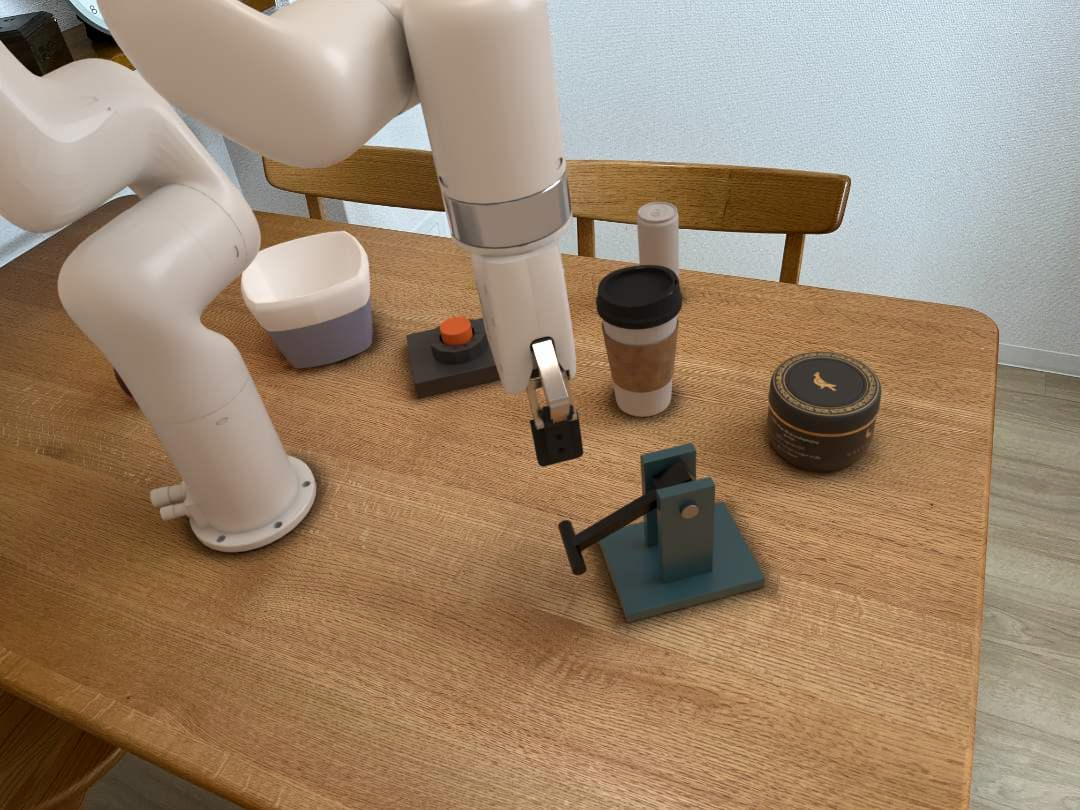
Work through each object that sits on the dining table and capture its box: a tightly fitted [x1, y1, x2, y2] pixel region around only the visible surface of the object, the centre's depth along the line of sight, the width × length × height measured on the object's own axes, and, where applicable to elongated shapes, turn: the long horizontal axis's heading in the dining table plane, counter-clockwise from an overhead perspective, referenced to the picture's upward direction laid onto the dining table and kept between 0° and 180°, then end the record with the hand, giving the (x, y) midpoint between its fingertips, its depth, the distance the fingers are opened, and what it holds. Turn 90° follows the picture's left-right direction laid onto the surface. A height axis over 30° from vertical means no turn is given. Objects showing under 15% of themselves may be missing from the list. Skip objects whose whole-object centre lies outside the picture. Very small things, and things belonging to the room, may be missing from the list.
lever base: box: [598, 442, 766, 624], centre depth 67 cm, size 12×9×12 cm
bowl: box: [240, 230, 374, 369], centre depth 100 cm, size 15×15×11 cm
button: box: [439, 316, 473, 346], centre depth 94 cm, size 4×4×2 cm
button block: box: [406, 317, 501, 399], centre depth 95 cm, size 12×10×4 cm
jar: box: [766, 351, 882, 472], centre depth 77 cm, size 10×10×8 cm
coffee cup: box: [595, 264, 683, 418], centre depth 83 cm, size 8×8×15 cm
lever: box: [557, 460, 697, 576], centre depth 65 cm, size 12×5×2 cm, turn 102°
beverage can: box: [636, 201, 680, 280], centre depth 98 cm, size 5×5×12 cm
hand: (544, 415), depth 59 cm, fingers open, 9 cm apart
